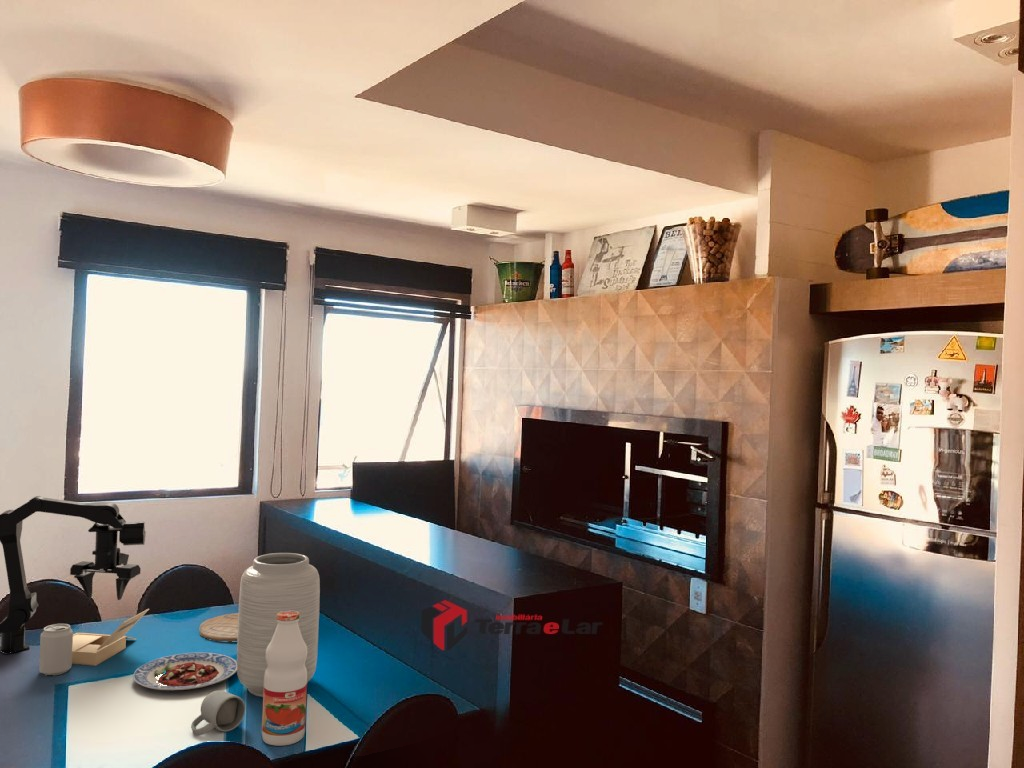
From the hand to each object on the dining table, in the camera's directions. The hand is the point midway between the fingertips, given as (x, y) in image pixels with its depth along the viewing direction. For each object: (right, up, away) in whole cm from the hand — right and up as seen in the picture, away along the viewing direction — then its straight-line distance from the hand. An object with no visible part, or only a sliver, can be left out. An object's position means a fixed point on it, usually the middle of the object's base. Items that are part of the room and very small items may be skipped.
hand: (104, 598), depth 228 cm
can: (-1, -13, -22) cm, 26 cm away
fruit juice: (+69, -16, -54) cm, 89 cm away
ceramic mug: (+52, -16, -51) cm, 74 cm away
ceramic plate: (+34, -15, -22) cm, 43 cm away
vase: (+59, -16, -26) cm, 66 cm away
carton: (0, -13, -6) cm, 15 cm away
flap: (+7, -9, -10) cm, 16 cm away
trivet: (+34, -15, +17) cm, 41 cm away
